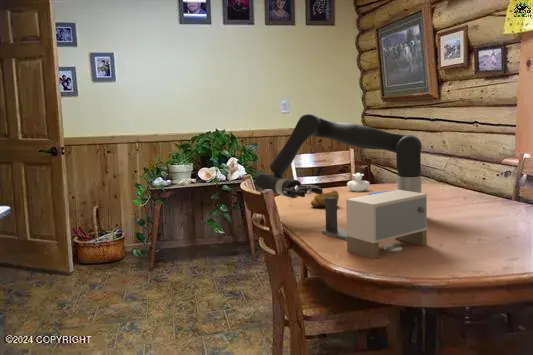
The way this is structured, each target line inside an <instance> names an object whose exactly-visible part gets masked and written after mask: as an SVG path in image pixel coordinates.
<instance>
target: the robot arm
mask: <svg viewBox="0 0 533 355" xmlns="http://www.w3.org/2000/svg"><path fill="white" fill-rule="evenodd" d="M310 137H314V138H325V139H329V140H333V141H335V142H339V143H340V144H344V145H347V146H351V147H355V148H360V149H368V150H381V151H387V152H392V153H395V154H396V160H395V161H396V170H397V173H396V174H397V176H396V178H397V179H396V180H397V190H404V191H410V192H417V193H422V166H421V165H422V164H421V161H422V160H421V159H422V158H421V155H422V154H421V152H422V150H423V149H422V148H423V147H422V146H423V145H422V142H421V140H420V139H419V138H418V137H417V136H415V135H412V134H411V135H410V134H409V135H408V134H400V133H392V132H388V131H384V130H381V129H377V128H374V127H370V126H367V125H363V124H357V123H352V122H338V121H337V122H335V121H331V120H328V119H324V118H322V117H319V116H317V115H314V114H312V113H305V114H303V115H302V116H300V117H299V119H298V121H297V123H296V125H295V126H294V129H293V130H292V132H291V135H290V136H289V138H288V139H287V141H286V143H285V144H284V146H283V147H282V149H280V151H279V152H278V154H277V155H276V156H275V158H274V159H273V160H272V162H271V163H270V165H269V169H270V170H271V172H272V173H273V174H270V173H266V172H261V173H259V174H258V175H256V177H255V179H254V184H255V186H256V187H257V188H258V189H260V190H262V191H264V189H272V190H273V193H274V194H278V195H281V196H282V197H286V198H290V199H297V198H299V197H302V198H305V197H306V195H312V194H315V195H316V194H322V192H323V188H321V187H320V186H319V185H315V184H308V185H306V184H302V183H301V181H300V180H297V179H293V178H286V177H285V178H284V174H285V173H286V171H287V170H288V169H289V167H290V166H291V165H292V163H293V162H294V160H295V158H296V156H297V153H298V151H299V150H300V148H301V147H302V145H303V144H304V143H305V141H306V140H308V139H309V138H310ZM273 193H272V194H273Z"/></svg>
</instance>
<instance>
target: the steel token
mask: <svg viewBox="0 0 533 355" xmlns="http://www.w3.org/2000/svg"><path fill="white" fill-rule="evenodd" d="M382 247H383V251H384V252H387V253H388V252H389V253H399V252H403V249H404V248H403V247H404V246H403V245H402V244H400V243H395V242H394V243H393V242H392V243H391V242H390V243H386V244H383V246H382Z"/></svg>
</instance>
